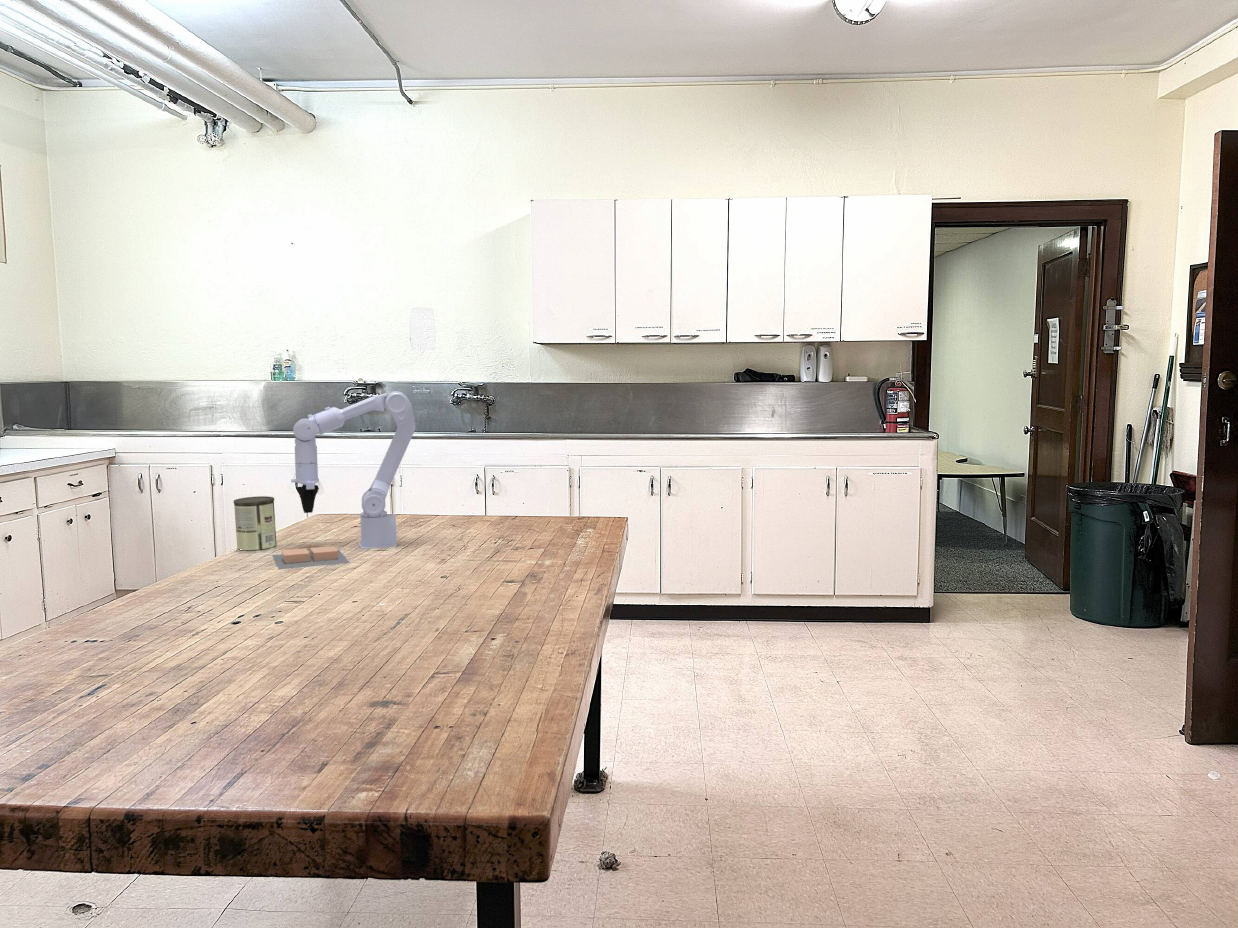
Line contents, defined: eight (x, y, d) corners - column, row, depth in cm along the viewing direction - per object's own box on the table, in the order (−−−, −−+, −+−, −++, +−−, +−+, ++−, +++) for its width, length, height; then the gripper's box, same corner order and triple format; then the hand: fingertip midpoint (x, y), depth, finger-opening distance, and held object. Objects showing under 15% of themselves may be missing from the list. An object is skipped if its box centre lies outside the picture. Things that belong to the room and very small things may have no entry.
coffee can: (245, 546, 247) (242, 496, 246) (282, 545, 247) (279, 495, 246) (230, 554, 237) (226, 502, 235) (268, 553, 237) (265, 501, 235)
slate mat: (338, 550, 241) (338, 549, 241) (349, 564, 225) (349, 562, 225) (272, 556, 234) (272, 555, 234) (278, 570, 218) (278, 569, 218)
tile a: (310, 547, 232) (313, 552, 226) (333, 545, 235) (338, 550, 229) (310, 556, 233) (314, 561, 226) (334, 554, 235) (338, 559, 229)
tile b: (281, 550, 229) (284, 555, 223) (306, 548, 232) (309, 553, 226) (282, 558, 230) (285, 563, 223) (306, 556, 232) (309, 561, 226)
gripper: (287, 461, 245) (289, 509, 246) (293, 466, 232) (295, 517, 233) (314, 459, 248) (316, 507, 249) (321, 465, 235) (323, 515, 236)
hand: (308, 512), depth 241 cm, fingers closed
